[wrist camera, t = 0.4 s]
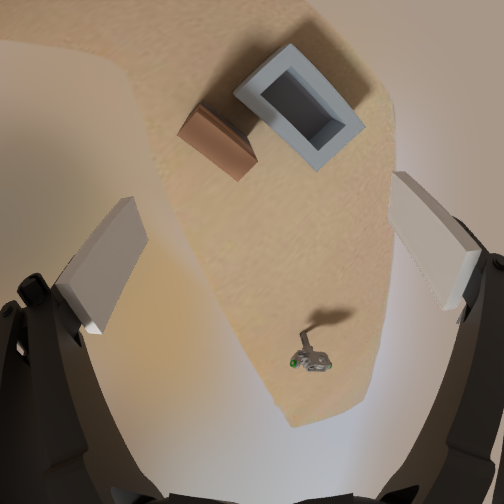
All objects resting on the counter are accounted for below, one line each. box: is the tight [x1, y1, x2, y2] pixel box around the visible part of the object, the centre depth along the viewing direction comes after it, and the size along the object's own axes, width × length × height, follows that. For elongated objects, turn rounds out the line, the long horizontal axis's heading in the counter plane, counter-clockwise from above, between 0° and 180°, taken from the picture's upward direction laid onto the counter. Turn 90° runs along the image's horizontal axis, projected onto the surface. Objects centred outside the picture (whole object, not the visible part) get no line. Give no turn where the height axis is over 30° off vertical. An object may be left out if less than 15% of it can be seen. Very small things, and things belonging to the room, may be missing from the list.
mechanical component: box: [290, 331, 332, 372], centre depth 60 cm, size 3×10×10 cm, turn 67°
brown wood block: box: [177, 100, 258, 182], centre depth 30 cm, size 3×8×11 cm, turn 47°
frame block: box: [232, 43, 366, 172], centre depth 31 cm, size 9×14×6 cm, turn 46°
